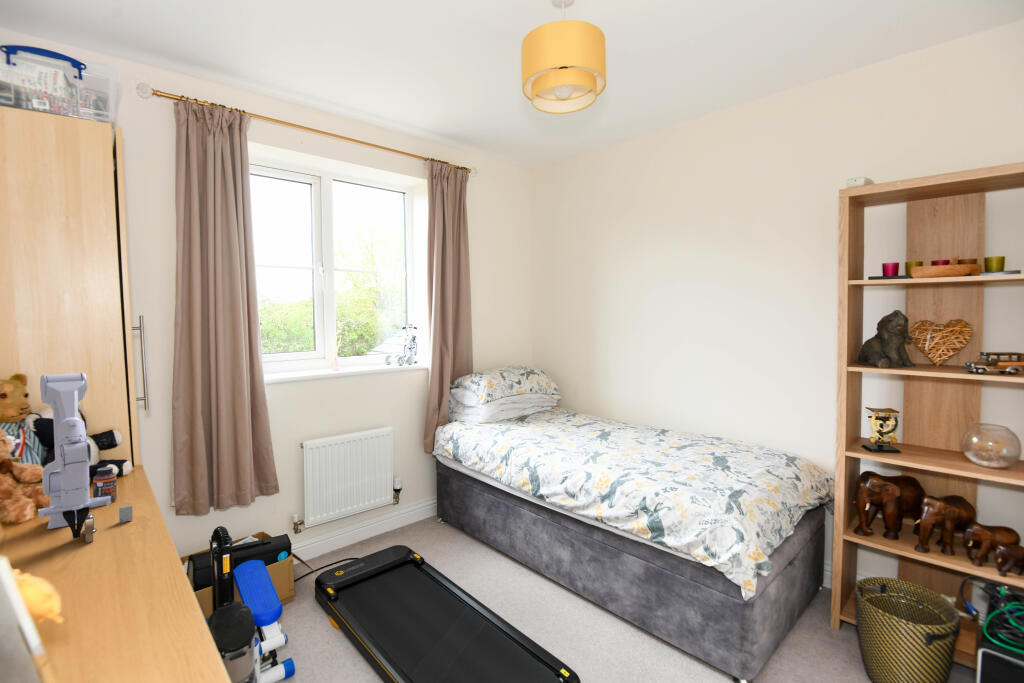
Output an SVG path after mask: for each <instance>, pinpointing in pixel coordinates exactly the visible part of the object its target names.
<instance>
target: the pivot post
mask: <svg viewBox="0 0 1024 683" xmlns="http://www.w3.org/2000/svg"><path fill="white" fill-rule="evenodd" d="M89 519H93V533H95V532H97V531H98V528H95V517H94V514H88V516H87V518H86V520H89ZM86 520H85V522H84V530H81V534H82V535H86Z"/></svg>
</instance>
